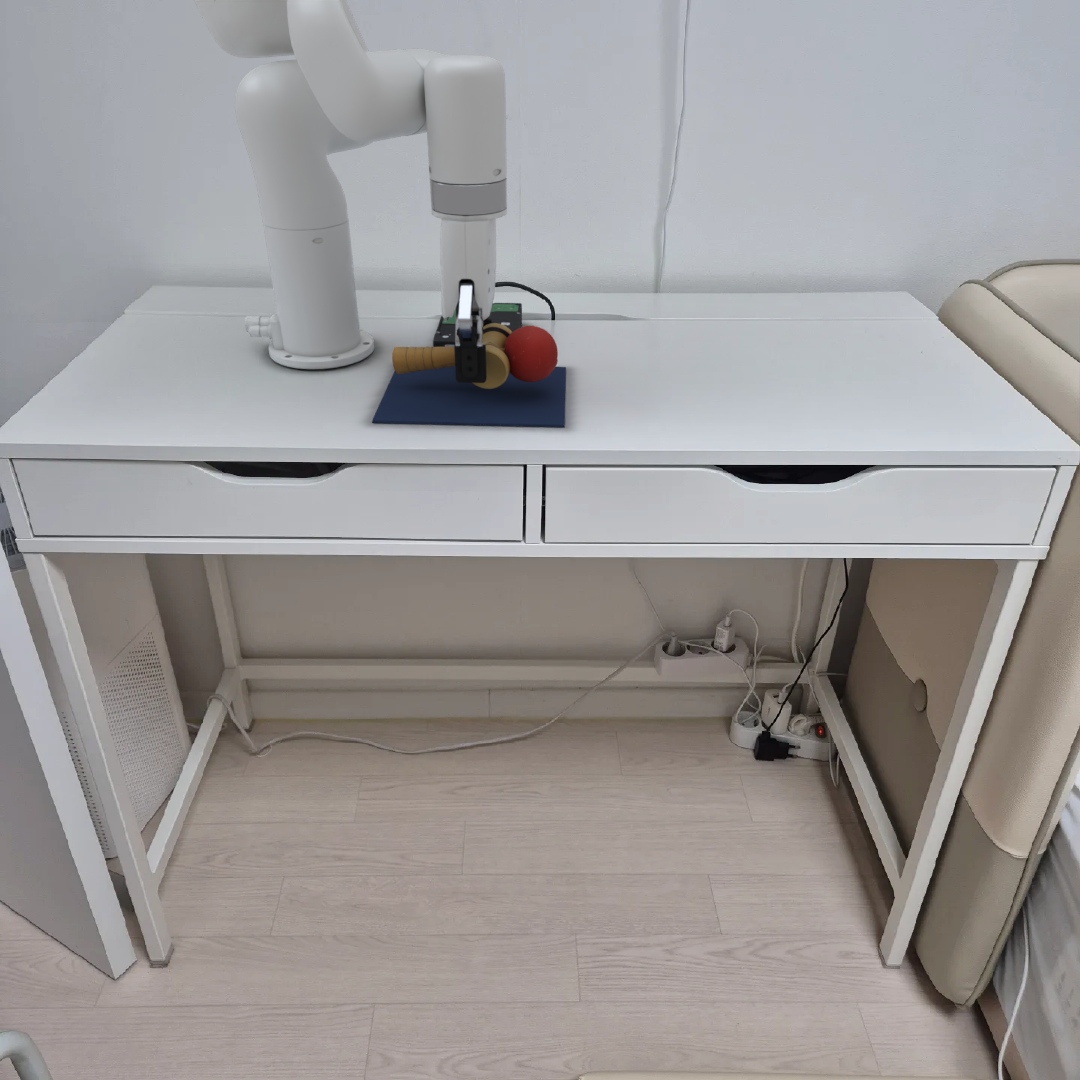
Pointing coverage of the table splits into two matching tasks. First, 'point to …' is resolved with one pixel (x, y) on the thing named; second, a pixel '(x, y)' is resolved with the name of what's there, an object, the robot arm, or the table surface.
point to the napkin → (472, 400)
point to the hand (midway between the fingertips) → (475, 366)
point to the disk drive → (499, 314)
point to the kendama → (491, 355)
